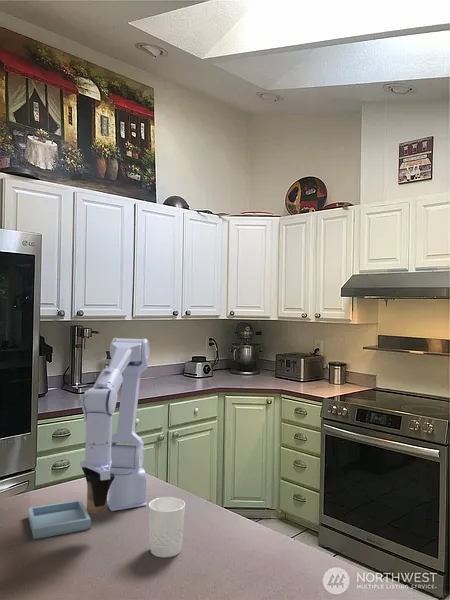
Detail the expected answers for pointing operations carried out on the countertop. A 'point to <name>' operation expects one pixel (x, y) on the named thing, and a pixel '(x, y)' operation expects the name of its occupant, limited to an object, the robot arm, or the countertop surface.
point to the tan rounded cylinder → (90, 502)
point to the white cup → (166, 526)
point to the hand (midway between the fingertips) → (97, 501)
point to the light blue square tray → (58, 519)
